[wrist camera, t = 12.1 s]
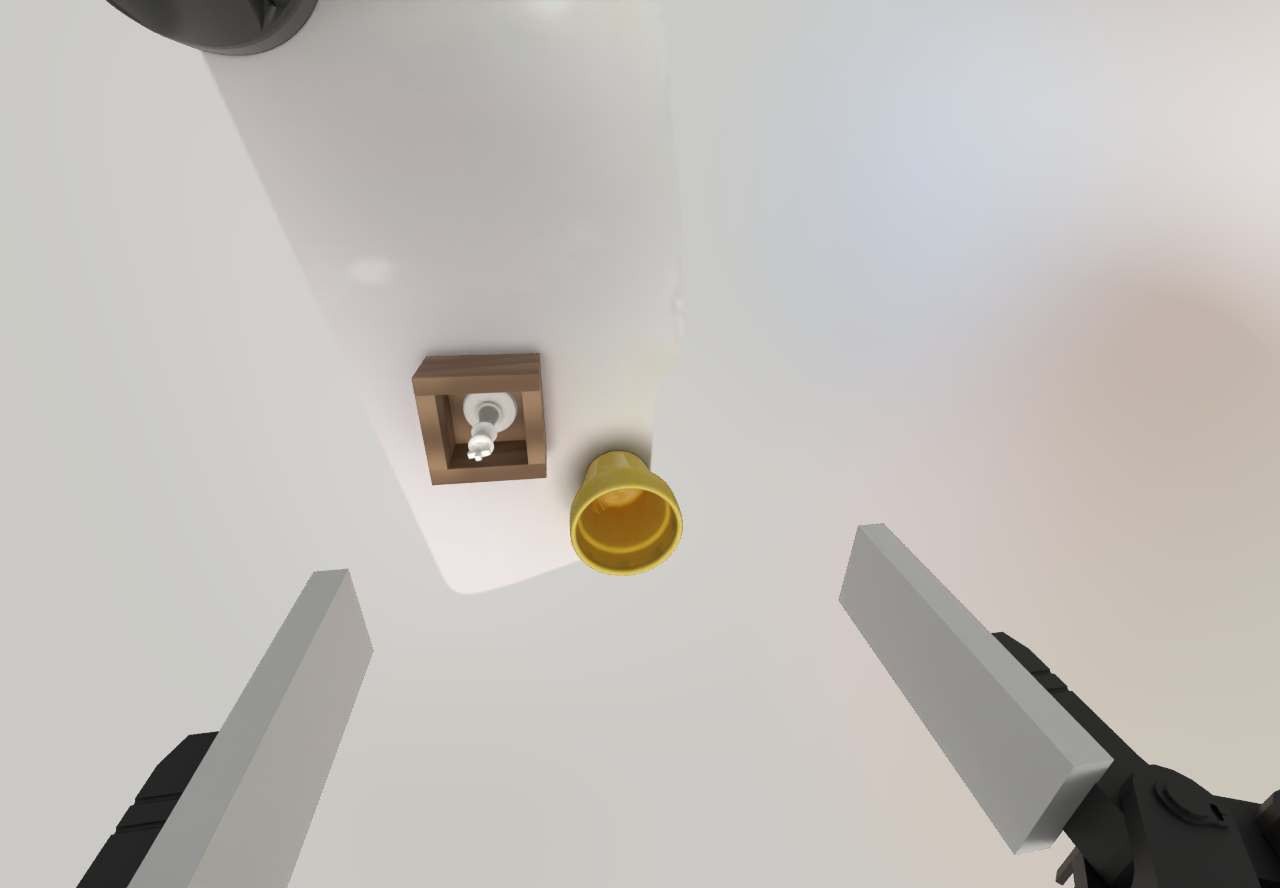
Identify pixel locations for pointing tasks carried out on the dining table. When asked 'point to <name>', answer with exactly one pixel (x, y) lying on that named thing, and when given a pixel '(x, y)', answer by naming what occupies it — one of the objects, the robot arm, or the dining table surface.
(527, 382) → the walnut holder
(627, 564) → the plant pot
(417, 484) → the dining table surface
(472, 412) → the chess piece
